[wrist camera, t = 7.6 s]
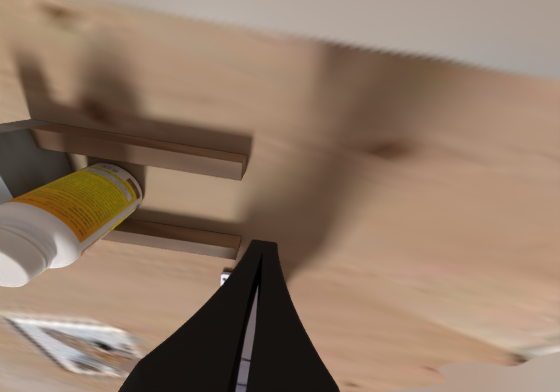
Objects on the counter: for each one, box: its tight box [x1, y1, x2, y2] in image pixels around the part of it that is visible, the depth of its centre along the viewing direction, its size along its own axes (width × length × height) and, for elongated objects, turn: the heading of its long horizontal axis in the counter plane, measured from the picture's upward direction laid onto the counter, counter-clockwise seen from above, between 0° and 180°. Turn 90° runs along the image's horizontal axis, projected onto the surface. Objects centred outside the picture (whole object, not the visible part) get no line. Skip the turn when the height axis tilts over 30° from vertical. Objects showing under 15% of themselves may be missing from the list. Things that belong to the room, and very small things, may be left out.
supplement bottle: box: [0, 163, 142, 287], centre depth 17 cm, size 6×6×10 cm
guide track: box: [0, 119, 247, 260], centre depth 19 cm, size 11×19×5 cm, turn 81°
